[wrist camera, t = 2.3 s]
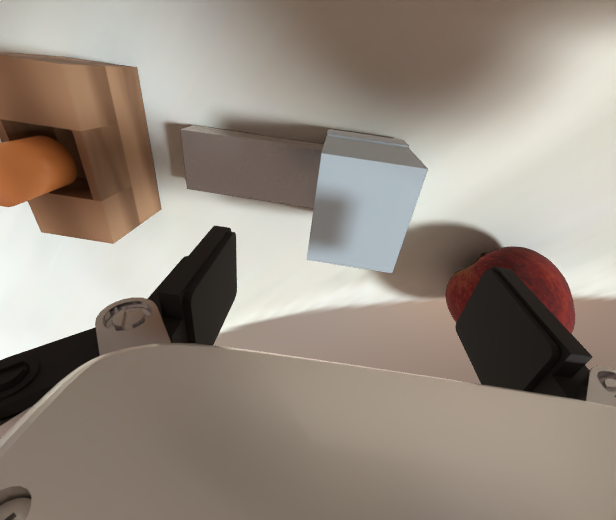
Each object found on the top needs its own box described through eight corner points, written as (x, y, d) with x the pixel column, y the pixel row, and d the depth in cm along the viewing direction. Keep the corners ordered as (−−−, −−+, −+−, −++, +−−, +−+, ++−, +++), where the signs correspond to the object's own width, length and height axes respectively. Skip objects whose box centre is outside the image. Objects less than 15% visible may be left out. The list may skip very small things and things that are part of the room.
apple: (437, 309, 27) (468, 387, 20) (433, 237, 23) (470, 303, 16) (527, 299, 25) (593, 379, 19) (539, 219, 21) (628, 284, 15)
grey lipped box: (403, 139, 19) (428, 166, 13) (379, 224, 22) (391, 274, 17) (328, 128, 19) (321, 151, 13) (316, 214, 22) (306, 261, 17)
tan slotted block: (137, 67, 19) (61, 64, 14) (161, 209, 24) (113, 243, 19) (63, 56, 19) (-39, 49, 14) (103, 200, 24) (41, 232, 19)
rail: (404, 156, 20) (410, 163, 18) (388, 209, 22) (392, 220, 21) (193, 125, 20) (180, 129, 19) (198, 180, 23) (186, 188, 21)
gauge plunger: (67, 139, 16) (5, 153, 13) (83, 188, 17) (30, 210, 15) (19, 132, 16) (-54, 144, 13) (38, 181, 18) (-23, 202, 15)
